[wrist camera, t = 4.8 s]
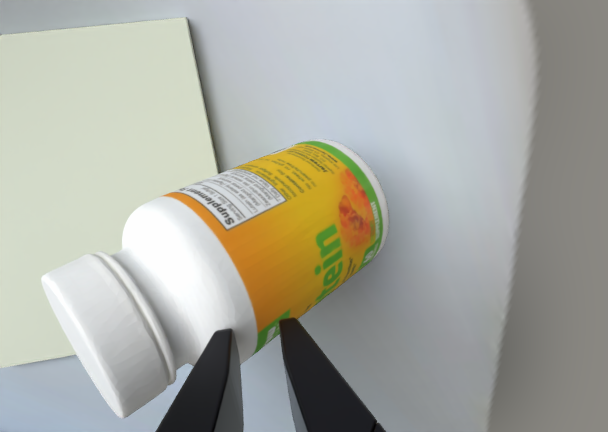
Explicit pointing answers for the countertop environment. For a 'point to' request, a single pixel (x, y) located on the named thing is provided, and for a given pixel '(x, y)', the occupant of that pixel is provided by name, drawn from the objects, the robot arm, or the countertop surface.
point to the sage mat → (87, 155)
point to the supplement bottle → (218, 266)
